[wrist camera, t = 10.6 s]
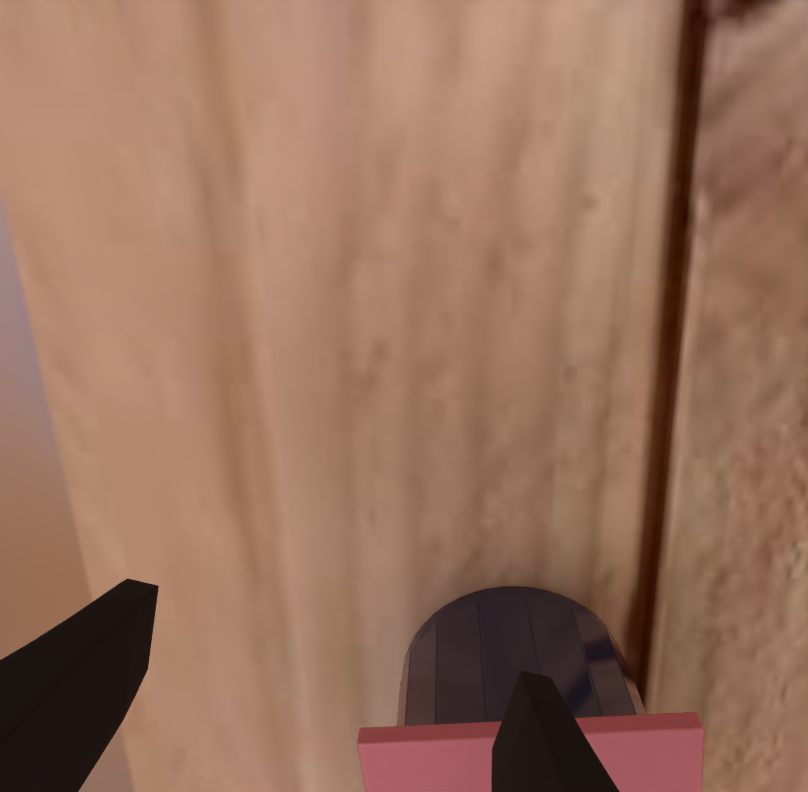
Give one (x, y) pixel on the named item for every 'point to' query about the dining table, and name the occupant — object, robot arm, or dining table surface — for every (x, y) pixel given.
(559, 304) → the dining table surface
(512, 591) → the dark faceted cylinder
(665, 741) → the pink square knobbed lid
